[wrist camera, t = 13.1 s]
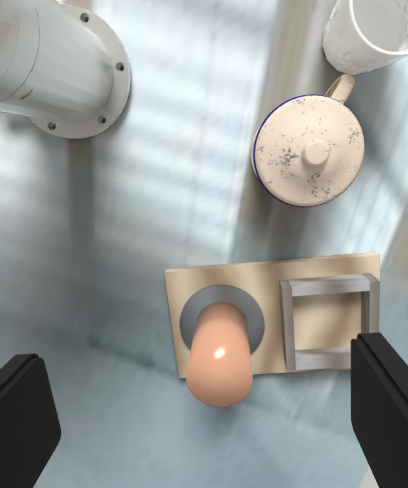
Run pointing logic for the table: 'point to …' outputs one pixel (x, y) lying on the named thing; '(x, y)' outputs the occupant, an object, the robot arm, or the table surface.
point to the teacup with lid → (309, 147)
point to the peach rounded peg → (220, 356)
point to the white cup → (366, 34)
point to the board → (283, 308)
